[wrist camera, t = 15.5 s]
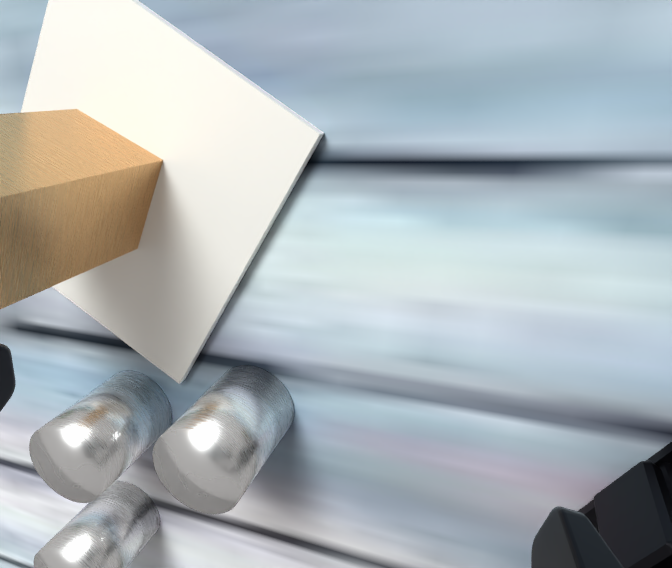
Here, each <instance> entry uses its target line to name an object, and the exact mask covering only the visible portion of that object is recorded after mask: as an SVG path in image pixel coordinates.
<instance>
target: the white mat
mask: <svg viewBox="0 0 672 568" xmlns="http://www.w3.org/2000/svg"><path fill="white" fill-rule="evenodd" d="M67 109H78V110H80V111H81V112H83V113H85V114H86V115H88V116H90V117H91V118H93V119H95V120H96V121H98V122H100V123H102V124H103V125H105V126H107V127H108V128H110V129H112V130H113V131H115V132H117V133H118V134H120V135H122V136H124V137H125V138H127V139H129V140H130V141H132V142H134V143H135V144H137V145H139V146H140V147H142V148H144V149H146V150H147V151H149V152H151V153H152V154H154V155H156V156H157V157H159V158H161V159H162V160H163V163H162V166H161V170H160V173H159V177H158V180H157V184H156V187H155V190H154V194H153V197H152V201H151V204H150V208H149V211H148V215H147V218H146V221H145V225H144V228H143V232H142V235H141V239H140V242H139V245H138V249H136V250H134V251H131V252H129V253H127V254H124V255H122V256H120V257H118V258H115V259H113V260H111V261H109V262H106V263H104V264H102V265H100V266H97V267H95V268H93V269H90V270H88V271H86V272H84V273H81V274H79V275H77V276H75V277H72V278H70V279H68V280H66V281H63V282H61V283H59V284H56V285H54V286H52V287H53V288H54V289H56V290H57V291H58V292H60V293H61V294H62V295H63V296H65V297H66V298H67V299H69V300H70V301H71V302H73V303H74V304H75V305H77V306H78V307H79V308H80V309H82V310H83V311H84V312H86V313H87V314H88V315H90V316H91V317H92V318H94V319H95V320H96V321H98V322H99V323H100V324H101V325H103V326H104V327H105V328H107V329H108V330H109V331H111V332H112V333H113V334H115V335H116V336H117V337H118V338H120V339H121V340H122V341H124V342H125V343H126V344H128V345H129V346H130V347H132V348H133V349H134V350H136V351H137V352H138V353H139V354H141V355H142V356H143V357H145V358H146V359H147V360H149V361H150V362H151V363H153V364H154V365H155V366H156V367H158V368H159V369H160V370H162V371H163V372H164V373H166V374H167V375H168V376H170V377H171V378H172V379H174V380H175V381H176V382H177V383H179V384H180V383H181V382H182V381H183V380H185V379H186V377H187V375H188V373H189V371H190V370H191V368H192V366H193V364H194V363H195V361H196V359H197V357H198V356H199V354H200V352H201V350H202V348H203V347H204V345H205V343H206V341H207V340H208V338H209V336H210V334H211V333H212V331H213V329H214V327H215V326H216V324H217V322H218V320H219V318H220V317H221V315H222V313H223V311H224V310H225V308H226V306H227V304H228V303H229V301H230V299H231V297H232V295H233V294H234V292H235V290H236V288H237V287H238V285H239V283H240V281H241V280H242V278H243V276H244V274H245V272H246V271H247V269H248V267H249V265H250V264H251V262H252V260H253V258H254V257H255V255H256V253H257V251H258V249H259V248H260V246H261V244H262V242H263V241H264V239H265V237H266V235H267V234H268V232H269V230H270V228H271V226H272V225H273V223H274V221H275V219H276V218H277V216H278V214H279V212H280V211H281V209H282V207H283V205H284V203H285V202H286V200H287V198H288V196H289V195H290V193H291V191H292V189H293V188H294V186H295V184H296V182H297V180H298V179H299V177H300V175H301V173H302V172H303V170H304V168H305V166H306V165H307V163H308V161H309V159H310V158H311V156H312V154H313V152H314V150H315V149H316V147H317V145H318V143H319V142H320V140H321V138H322V136H323V135H324V132H322V131H321V130H319V129H318V128H317V127H315V126H314V125H312V124H311V123H310V122H308V121H307V120H305V119H304V118H303V117H301V116H300V115H298V114H297V113H296V112H294V111H293V110H291V109H290V108H289V107H287V106H286V105H284V104H283V103H282V102H280V101H279V100H277V99H276V98H274V97H273V96H272V95H270V94H269V93H267V92H266V91H265V90H263V89H262V88H260V87H259V86H258V85H256V84H255V83H253V82H252V81H251V80H249V79H248V78H246V77H245V76H244V75H242V74H241V73H239V72H238V71H237V70H235V69H234V68H232V67H231V66H230V65H228V64H227V63H225V62H224V61H222V60H221V59H220V58H218V57H217V56H215V55H214V54H213V53H211V52H210V51H208V50H207V49H206V48H204V47H203V46H201V45H200V44H199V43H197V42H196V41H194V40H193V39H192V38H190V37H189V36H187V35H186V34H185V33H183V32H182V31H180V30H179V29H178V28H176V27H175V26H173V25H172V24H170V23H169V22H168V21H166V20H165V19H163V18H162V17H161V16H159V15H158V14H156V13H155V12H154V11H152V10H151V9H149V8H148V7H147V6H145V5H144V4H142V3H141V2H140V1H138V0H49V1H48V5H47V9H46V13H45V17H44V21H43V25H42V29H41V33H40V37H39V41H38V45H37V49H36V53H35V57H34V61H33V65H32V69H31V73H30V77H29V81H28V86H27V90H26V94H25V98H24V102H23V106H22V110H21V113H24V112H38V111H52V110H67Z"/></svg>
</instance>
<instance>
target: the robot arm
mask: <svg viewBox="0 0 672 568" xmlns="http://www.w3.org/2000/svg"><path fill="white" fill-rule="evenodd" d="M14 389H15V375H14V369H13V363H12V356H11V352H10V349H9V348H8V347H7V346H5V345H3V344H0V411H1V410H2V409H3V407H4V406H5V405H6V403H7V402H8V400H9V399H10V398H11V396H12V394H13V392H14ZM531 568H672V442H671V443H669V444H668V445H667V446H665V447H664V448H663V449H661V450H660V451H659V452H657V453H656V454H655V455H653V456H652V457H651V458H649V459H648V460H646V461H642V462H640V463H638V464H637V465H636V466H634V467H633V468H632V469H630V470H629V471H628V472H626V473H625V474H624V475H622V476H621V477H620V478H618V479H617V480H616V481H614V482H613V483H611V484H610V485H609V486H607V487H606V488H605V489H603V490H602V491H601V492H599V493H598V494H597V495H595V497H594V500H592V501H591V502H590V503H588V504H587V505H586V506H584V507H583V508H582V509H580V510H579V511H574V510H570V509H567V508H564V507H555V508H554V509H553V510H552V511H551V512H550V514H549V516H548V517H547V519H546V520H545V522H544V524H543V525H542V527H541V528H540V530H539V532H538V533H537V535H536V537H535V539H534V541H533V545H532V556H531Z"/></svg>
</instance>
